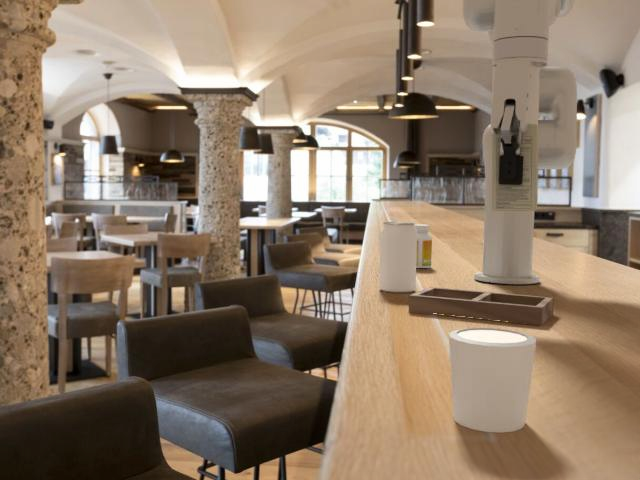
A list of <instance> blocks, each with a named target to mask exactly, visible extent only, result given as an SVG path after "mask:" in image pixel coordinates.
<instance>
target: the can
mask: <svg viewBox="0 0 640 480" xmlns="http://www.w3.org/2000/svg"><path fill="white" fill-rule="evenodd" d="M415 224H416V223H415V222H404V221H403V222H402V221H388V222H387V221H384V222H383V225H382V228H381V229H380V238H379V239H380V241H379V268H378V269H379V273H378V275H379V277H378V280H379V281H378V285H379V286H378V287H379V289H380V291H381V292H385V293H391V294H409V293H414V291H415V290H416V286H417V285H416V283H417V269H416V260H417V231H416V228H415Z"/></svg>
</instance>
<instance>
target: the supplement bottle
mask: <svg viewBox="0 0 640 480" xmlns="http://www.w3.org/2000/svg"><path fill="white" fill-rule="evenodd" d="M415 228H416V231H417V260H416V268H427V269H431V268H430V267H432V251H433V238H432V235H431V234H430V233H429V232H430V225H429V224H418V223H417V224H416V223H415Z"/></svg>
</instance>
